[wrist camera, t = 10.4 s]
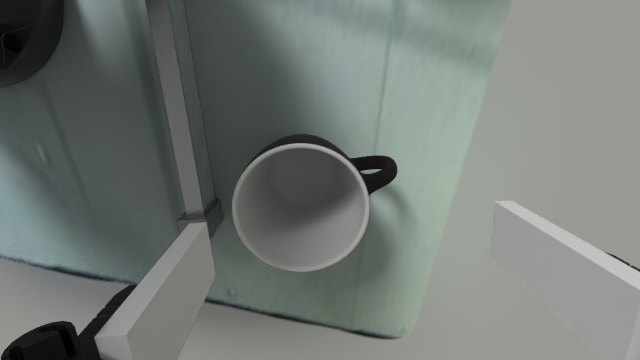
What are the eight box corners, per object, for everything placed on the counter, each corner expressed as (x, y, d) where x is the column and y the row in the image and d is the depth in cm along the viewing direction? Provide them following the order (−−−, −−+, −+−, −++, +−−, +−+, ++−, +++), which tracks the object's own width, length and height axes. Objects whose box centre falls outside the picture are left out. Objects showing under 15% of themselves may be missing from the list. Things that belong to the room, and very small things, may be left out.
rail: (198, 221, 31) (181, 242, 27) (146, -68, 24) (112, -101, 20) (223, 219, 31) (209, 240, 27) (178, -70, 24) (150, -103, 20)
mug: (271, 225, 31) (256, 287, 22) (242, 139, 29) (209, 164, 19) (389, 194, 31) (427, 243, 21) (369, 104, 28) (402, 111, 19)
